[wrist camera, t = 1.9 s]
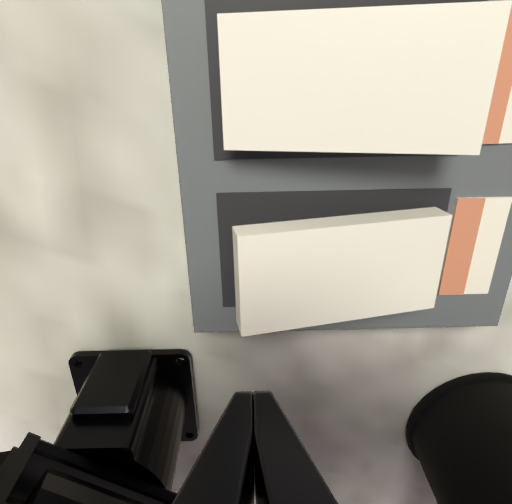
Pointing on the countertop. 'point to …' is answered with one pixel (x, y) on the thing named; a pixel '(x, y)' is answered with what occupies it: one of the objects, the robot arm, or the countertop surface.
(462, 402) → the aerosol can
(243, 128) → the rocker
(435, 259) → the rocker
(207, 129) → the switch unit
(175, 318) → the countertop surface
